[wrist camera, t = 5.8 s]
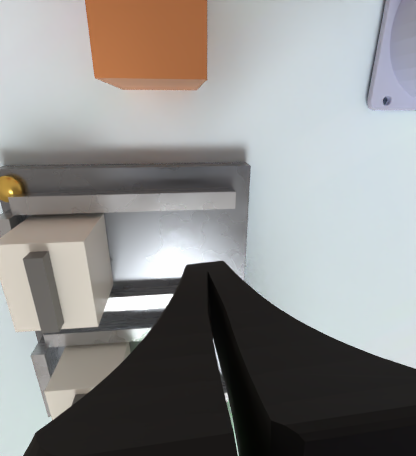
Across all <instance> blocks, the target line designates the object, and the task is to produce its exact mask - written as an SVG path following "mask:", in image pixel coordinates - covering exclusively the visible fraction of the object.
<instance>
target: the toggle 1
mask: <svg viewBox="0 0 416 456" xmlns="http://www.w3.org/2000/svg"><path fill="white" fill-rule="evenodd" d="M0 281H1V284H2V287H3V291H4V294H5V297H6V301H7V304H8V307H9V311H10V314H11V317H12V321H13V324H14V327H15V331H16V332H26V331H41V332H42V333H55V332H60V330H61V329H72V328H87V327H98V326H99V323H100V320H101V318H102V315H103V312H104V309H105V306H106V304H107V301H108V298H109V295H110V292H111V290H112V287H113V278H112V271H111V263H110V256H109V249H108V241H107V234H106V226H105V219H104V213H98V214H64V215H31V216H30V217H28V218H27V219H26V220H24V221H23V222H21V223H20V224H19V225H17V226H16V227H14V228H13V229H12V230H10V231H9V232H8V233H6V234H5V235H3V236H2V237H1V238H0Z"/></svg>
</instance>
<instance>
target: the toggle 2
mask: <svg viewBox="0 0 416 456" xmlns="http://www.w3.org/2000/svg"><path fill="white" fill-rule="evenodd" d="M129 354H130V345H129V342H117V343H103V344H89V345H75V346H66V347H65V349H64V351H63V353H62V355H61V357H60V359H59V362H58V364H57V366H56V368H55V370H54V372H53V374H52V376H51V379H50V381H49V383H48V385H47V387H46V389H45V391H44V393H45V396H46V400H47V403H48V407H49V410H50V414H51V417H52V420H54V419H55V418H56V417H57V416H59V415H60V414H61V413H63V412H64V411H65V410H67V409H68V408H69V407H71V406H72V405H73V404H74V403H76V402H77V401H78V400H80V399H81V398H82V397H84V396H85V395H86V394H87V393H88V392H90V391H91V390H92V389H93V388H94V387H95V386H97V385H98V384H99V383H100V382H101V381H102V380H103V379H105V378H106V377H107V376H108V375H109V374H110V373H111V372H112V371H113V370H114V369H116V368H117V367H118V366H119V365H120V364H121V363H122V362H123V361H124V360H125V359H126V357H127V356H128V355H129Z"/></svg>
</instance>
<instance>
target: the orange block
mask: <svg viewBox="0 0 416 456" xmlns="http://www.w3.org/2000/svg"><path fill="white" fill-rule="evenodd" d="M85 4H86V12H87V20H88V28H89V36H90V44H91V52H92V60H93V68H94V76H95V78H96V79H98V80H101V81H103V82H106V83H108V84H111V85H113V86H115V87H118V88H120V89H123V90H197V89H198V88H199V87H200V86H201V85H202V84H203V83H204V82H205V81H206V80H207V0H85Z"/></svg>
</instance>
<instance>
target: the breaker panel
mask: <svg viewBox="0 0 416 456" xmlns="http://www.w3.org/2000/svg"><path fill="white" fill-rule="evenodd" d="M249 184H250V165H249V164H247V163H246V162H239V163H170V164H100V165H31V166H2V167H0V202H1V206H2V209H3V213H2V214H1V215H0V238H1V237H2V236H3V235H5V234H6V233H8V232H9V231H10V230H12V229H13V228H14V227H16V226H17V225H19V224H20V223H21V222H23V221H24V220H26V219H27V218H28V217H30V216H31V215H64V214H98V213H104V219H105V226H106V234H107V241H108V249H109V256H110V263H111V271H112V278H113V287H112V290H111V292H110V295H109V298H108V301H107V304H106V306H105V309H104V312H103V315H102V318H101V320H100V323H99V326H98V327H87V328H72V329H61V330H60V332H55V333H42V332H41V331H35V332H36V336H37V340H38V344H37V346H36V348H35V349H34V351H33V353H32V354H31V358H32V362H33V365H34V369H35V372H36V376H37V379H38V382H39V386H40V389H41V393H42V396H43V400H44V403H45V407H46V410H47V414H48V417H50V416H51V414H50V410H49V407H48V403H47V400H46V396H45V393H44V391H45V389H46V387H47V385H48V383H49V381H50V379H51V376H52V374H53V372H54V370H55V368H56V366H57V364H58V362H59V359H60V357H61V355H62V353H63V351H64V349H65V347H66V346H75V345H89V344H103V343H117V342H129V345H130V353H131V352H132V351H133V350H134V349H135V348H136V346H137V345H138V344H139V343H140V342H141V341H142V340H143V338H144V337H145V336H146V335H147V333H148V332H149V331H150V330H151V328H152V327H153V326H154V324H155V323H156V321H157V320H158V319H159V317H160V316H161V314H162V312H163V311H164V309H165V308H166V306H167V304H168V303H169V301H170V299H171V298H172V296H173V294H174V292H175V290H176V288H177V286H178V284H179V282H180V279H181V277H182V274H183V271H184V267H185V266H186V265H187V264H195V263H204V262H213V261H222V260H223V261H224V262H225V263H226V264H227V265H228V266H229V267H230V268H231V269H232V270H233V271H234V272H235V273H236V274H237V275H238V276H239V277H240V278H241V279H242V280H243V281H244V275H245V256H246V238H247V220H248V202H249ZM213 343H214V340H213ZM214 348H215V344H214ZM215 353H216V358H217V362H218V367H219V372H220V377H221V381H222V386H223V390H224V394H225V399H226V402H228V394H227V390H226V386H225V383H224V379H223V375H222V371H221V367H220V363H219V360H218V356H217V352H216V348H215Z"/></svg>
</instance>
